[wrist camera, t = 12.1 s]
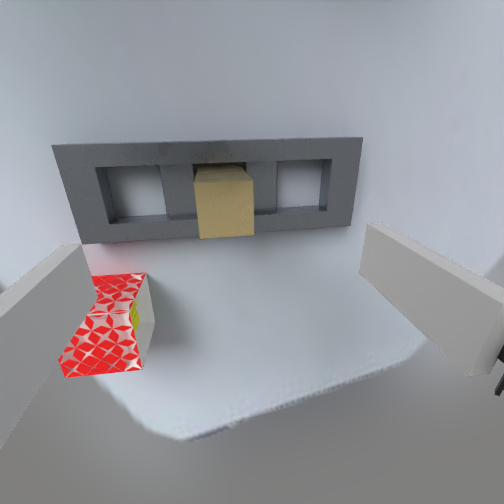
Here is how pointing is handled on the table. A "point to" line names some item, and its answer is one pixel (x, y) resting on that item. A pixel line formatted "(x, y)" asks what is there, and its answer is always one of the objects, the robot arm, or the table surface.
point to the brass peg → (224, 202)
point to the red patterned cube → (112, 328)
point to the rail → (182, 180)
